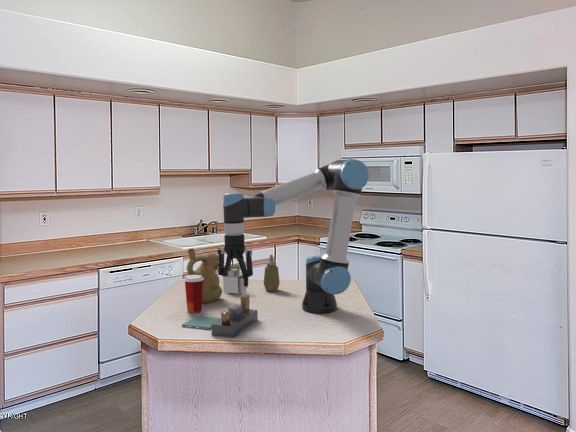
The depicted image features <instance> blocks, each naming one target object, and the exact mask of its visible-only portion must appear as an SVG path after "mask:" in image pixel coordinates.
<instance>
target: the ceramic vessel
mask: <svg viewBox="0 0 576 432" xmlns="http://www.w3.org/2000/svg"><path fill="white" fill-rule="evenodd" d="M187 253H188V257H189V260H188V263H187V266H186V271H187V274H188V275H202V277H203V279H204V280H203V292H202V304H207V303H213V302H215V301H217V300H218V299H220V298H221V295H222V294H223V289H222V287H221V286H220V277H219V274H218V273H217V272H216V271H218V264H219V255H218V253H215V252H208V253H206V254H205V255H198V256H196V253H195V249H194V248H190V249H188V250H187ZM197 262H201V263H200V265H199V266H198V267H197V268H196V269H195V270H194V268H193V267H194V264H196V263H197Z"/></svg>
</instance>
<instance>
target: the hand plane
mask: <svg viewBox="0 0 576 432" xmlns="http://www.w3.org/2000/svg"><path fill="white" fill-rule="evenodd" d="M220 316H221V317H220V318H221V319H219V320H218V321H216V322H214V323H213V324H211V325H212V329H211V336H218V337H225V338H235V337H237V336H239V335H240V334H241V333H242V332H244V331H245V330H246V329H247V328H249V327H251V326H252V325H253V324H254V323H256V321H258V320H259V319H258V309H250V294H247V293H246V294H245V295H244V296H243V295H241V296H240V304H239V303H238V304H236V303H235V304H233V305H231V306H230V307H228V310H227V311H222V312H221V313H220Z"/></svg>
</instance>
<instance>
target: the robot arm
mask: <svg viewBox="0 0 576 432" xmlns="http://www.w3.org/2000/svg"><path fill="white" fill-rule="evenodd" d="M369 177H370V174H369V169H368V167H367V166H366V164H365V163H364V162H362V161H361V160H360V159H359V160H358V159H354V158H348V159H339V160H338V159H337V160H335V161H333V162H330V163H328V164H326V165H324V166H322V167H319V168H316V169H315V171H314V172H312V173H309V174H307V175H304V176H301V177H298V178H296V179H293V180H290V181H287V182H285V183H281V184H279V185H276V186H273V187H270V188H268V189H265V190H262V191H260V192H257V193H254V194H249V195H246V196H244V193H242V192H227V193H225V194H224V195H223V205H222V206H223V207H222V208H223V234H224V235H223V236H224V239H223V240H224V247H223V248H220V249H218V250H217V255H218V256H219V261H218V263H219V264H218V269H217V271H218V272H217V275H218V276H221V277H223V276H225V275H227V274H228V271H229V270H230V266H231V265H232V262H233V260H234V259H235V260H236V261H237V262H238V265H239V270H240V272H242V275H243V278H241V285H242V291H241V296H244V295H245V294H247V288H246V286H248V287H249V278H250V277H253V275H254V271H253V270H254V269H253V260H252V256H253V250H252V249H247V248H246V247H245V234H244V233H245V218H267V217H273V216H274V215H275V213H276V206H279V205H281V204H285V203H287V202H290V201H293V200H296V199H298V198H300V197H305V196H306V195H309V194H311V193H314V192H317V191H320V190H322V191H326V190H330V189H332V190H331V191H332V192H333V194H334V202H333V206H332V213H331V218H330V223H329V224H330V225H329V230H328V236H327V240H326V241H327V243H326V248H325V253H323V255H314V256H313V255H312V256H308V257H306V259H305V261H306V262H305V293H304V295H303V296H304V297H303V300H302V302H301V303H302V304H301V308H302V310H303V311H305V312H308V313H313V314H328V313H333V312H335V311H337V310H338V303H337V300H336V296H335V295H340V294H342V293H344V292H346V291H347V289H348V288H349V286H350V285H351V281H352V279H351V273H350V271H349V265H350V261H349V260H348V258H347V255H348V250H349V245H350V244H349V243H350V237H351V231H352V225H353V222H354V221H353V220H354V215H355V208H356V203H357V199H358V198H360V197H361V196H362V191H363V188H364V187H365V186H367V184H368V181H369ZM225 254H226V261H225ZM244 254H245V258H244ZM245 262H246V263H245ZM224 266H225V268H224ZM229 294H230V293H227V292H226V293H225V295H229Z"/></svg>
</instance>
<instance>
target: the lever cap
mask: <svg viewBox="0 0 576 432" xmlns="http://www.w3.org/2000/svg"><path fill="white" fill-rule="evenodd" d="M239 270H240V268H239V269H231V270H229V271H228V274H227V275H225V276H222V282H223V283H222V284H223V285H222V288H223V289H222V292H223V293H225V292H227V293H229V294H230V293H231V294H240V293H242V285H241V278H243V275H242V272H241V271H240V272H239ZM248 288H249V285H248V286H246V289H248Z"/></svg>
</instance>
